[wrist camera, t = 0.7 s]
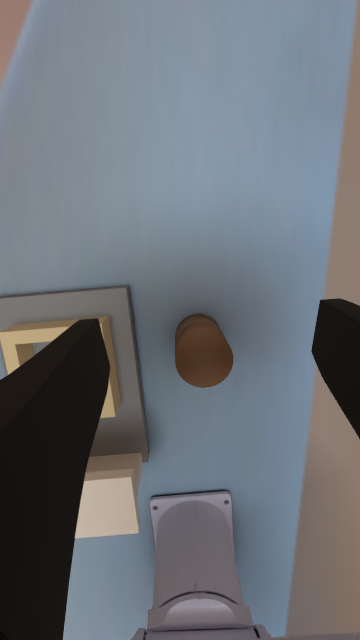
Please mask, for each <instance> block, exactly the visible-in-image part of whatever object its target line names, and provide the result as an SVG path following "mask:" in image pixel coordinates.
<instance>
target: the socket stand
mask: <svg viewBox="0 0 360 640" xmlns="http://www.w3.org/2000/svg"><path fill="white" fill-rule="evenodd" d="M93 318H98V319H99V323H100V327H101V331H102V335H103V339H104V343H105V347H106V351H107V355H108V359H109V363H110V376H109V383H108V390H107V395H106V399H105V402H104V406H103V410H102V413H101V417H100V420H99V424H98V427H97V431H96V434H95V438H94V441H93V445H92V448H91V452H90V455H89V459H88V464H87V468H86V473H85V479H84V484H83V490H82V496H81V501H80V508H79V514H78V521H77V527H76V534H75V538H87V537H99V536H111V535H123V534H135V533H139V528H140V518H139V511H138V504H137V495H138V489H139V482H140V475H141V469H142V462H148V458H149V445H148V436H147V428H146V420H145V412H144V404H143V396H142V388H141V380H140V372H139V364H138V356H137V348H136V339H135V331H134V323H133V315H132V307H131V299H130V291H129V285H126V286H114V287H103V288H92V289H80V290H69V291H57V292H46V293H34V294H23V295H12V296H0V351H1V355H2V360H3V364H4V368H5V373H6V376H7V375H9V374H10V373H11V372H13V371H14V370H15V369H17V368H18V367H20V366H21V365H22V364H24V363H25V362H26V361H28V360H29V359H30V358H32V357H33V356H34V355H36V354H37V353H38V352H39V351H41V350H42V349H43V348H44V347H46V346H47V345H48V344H49V343H51V342H52V341H53V340H54V339H55V338H57V337H58V336H59V335H60V334H62V333H63V332H64V331H65V330H66V329H68V328H69V327H70V326H72V325H73V324H74V323H76V322H77V321H79V320H81V319H93Z"/></svg>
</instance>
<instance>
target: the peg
mask: <svg viewBox="0 0 360 640" xmlns="http://www.w3.org/2000/svg"><path fill="white" fill-rule="evenodd" d="M175 363H176V368H177V371H178V373H179V375H180V376H181V377H182V379H183V380H185V381H186V382H187V383H189V384H191V385H193V386H196V387H211V386H214V385H217V384H218V383H220V382H222V381H223V380H224V379H225V378H226V377H227V376H228V374H229V373H230V371H231V369H232V365H233V354H232V351H231V348H230V346H229V344H228V343H227V341H226V339H225V337H224V335H223V333H222V331H221V330H220V328H219V326H218V324H217V323H216V322H215V321H214V320H213V319H212V318H211V317H209V316H206V315H203V314H195V315H191V316H188V317H186V318H185V319H184V320H182V321H181V323H180V324H179V325H178V327H177V330H176V335H175Z"/></svg>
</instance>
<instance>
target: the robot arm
mask: <svg viewBox="0 0 360 640" xmlns="http://www.w3.org/2000/svg"><path fill="white" fill-rule="evenodd" d="M312 354H313V356H314V359H315V361H316V364H317V366H318V369H319V371H320V373H321V375H322V377H323V379H324V381H325V383H326V384H327V386H328V388H329V389H330V391H331V393H332V394H333V396H334V397H335V399H336V400H337V402H338V404H339V406H340V407H341V409H342V411H343V412H344V414H345V415H346V417H347V419H348V420H349V422H350V424H351V425H352V427H353V429H354V430H355V432H356V433H357V435H358V437H359V439H360V306H359V305H356V304H354V303H351V302H349V301H346V300H343V299H327V300H320V304H319V310H318V316H317V322H316V327H315V333H314V339H313V345H312ZM109 376H110V363H109V359H108V355H107V351H106V347H105V343H104V339H103V335H102V331H101V327H100V323H99V319H98V318H93V319H81V320H79V321H77V322H76V323H74V324H73V325H72V326H70V327H69V328H68V329H66V330H65V331H64V332H63V333H62V334H60V335H59V336H58V337H57V338H55V339H54V340H53V341H52V342H51V343H49V344H48V345H47V346H46V347H44V348H43V349H42V350H41V351H39V352H38V353H37V354H36V355H34V356H33V357H32V358H30V359H29V360H28V361H26V362H25V363H24V364H22V365H21V366H20V367H18V368H17V369H15V370H14V371H13V372H11V373H10V374H9V375H7V376H6V377H4V378H3V379H1V380H0V640H63V631H64V622H65V613H66V604H67V595H68V586H69V578H70V571H71V563H72V556H73V548H74V541H75V534H76V527H77V521H78V514H79V508H80V501H81V496H82V490H83V484H84V479H85V473H86V468H87V464H88V459H89V455H90V452H91V448H92V445H93V441H94V438H95V434H96V431H97V427H98V424H99V420H100V417H101V413H102V410H103V406H104V402H105V399H106V395H107V390H108V383H109ZM225 500H228V501H225ZM154 506H157V507H154ZM150 509H151V517H152V525H153V532H154V540H155V548H156V559H155V575H154V590H153V606H152V609H150V610H149V613H148V627H147V631H146V629H145V628H139V629H138V630H137V631H136V634H135V635H134V637H133V638H132V639H131V640H360V633H344V634H325V635H308V636H290V637H271V635H270V634H269V633H268V632H267V631H266V629H265V627H264V626H263V625H261V624H255V625H254V626H253V622H252V617H251V612H250V608H249V606H244V604H243V599H242V593H241V588H240V583H239V578H238V572H237V567H236V562H235V557H234V541H233V523H232V506H231V495H230V493H229V492H228V491H220V492H208V493H196V494H184V495H172V496H160V497H153V498H151V500H150Z"/></svg>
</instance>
